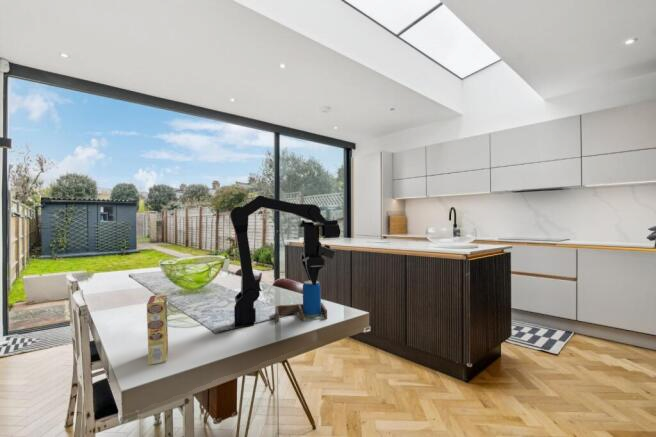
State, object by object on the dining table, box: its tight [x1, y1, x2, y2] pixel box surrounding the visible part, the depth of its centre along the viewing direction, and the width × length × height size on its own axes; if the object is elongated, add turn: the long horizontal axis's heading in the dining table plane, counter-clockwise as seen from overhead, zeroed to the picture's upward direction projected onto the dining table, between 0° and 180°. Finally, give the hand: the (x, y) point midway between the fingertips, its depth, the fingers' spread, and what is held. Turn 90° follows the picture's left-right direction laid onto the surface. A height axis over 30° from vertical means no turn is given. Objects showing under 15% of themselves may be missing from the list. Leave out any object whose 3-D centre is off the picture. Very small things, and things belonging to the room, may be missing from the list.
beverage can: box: [302, 279, 322, 317], centre depth 118 cm, size 6×6×12 cm
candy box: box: [146, 294, 169, 366], centre depth 84 cm, size 9×4×15 cm, turn 23°
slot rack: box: [274, 302, 328, 323], centre depth 117 cm, size 18×10×3 cm, turn 101°
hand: (312, 282), depth 118 cm, fingers open, 9 cm apart
